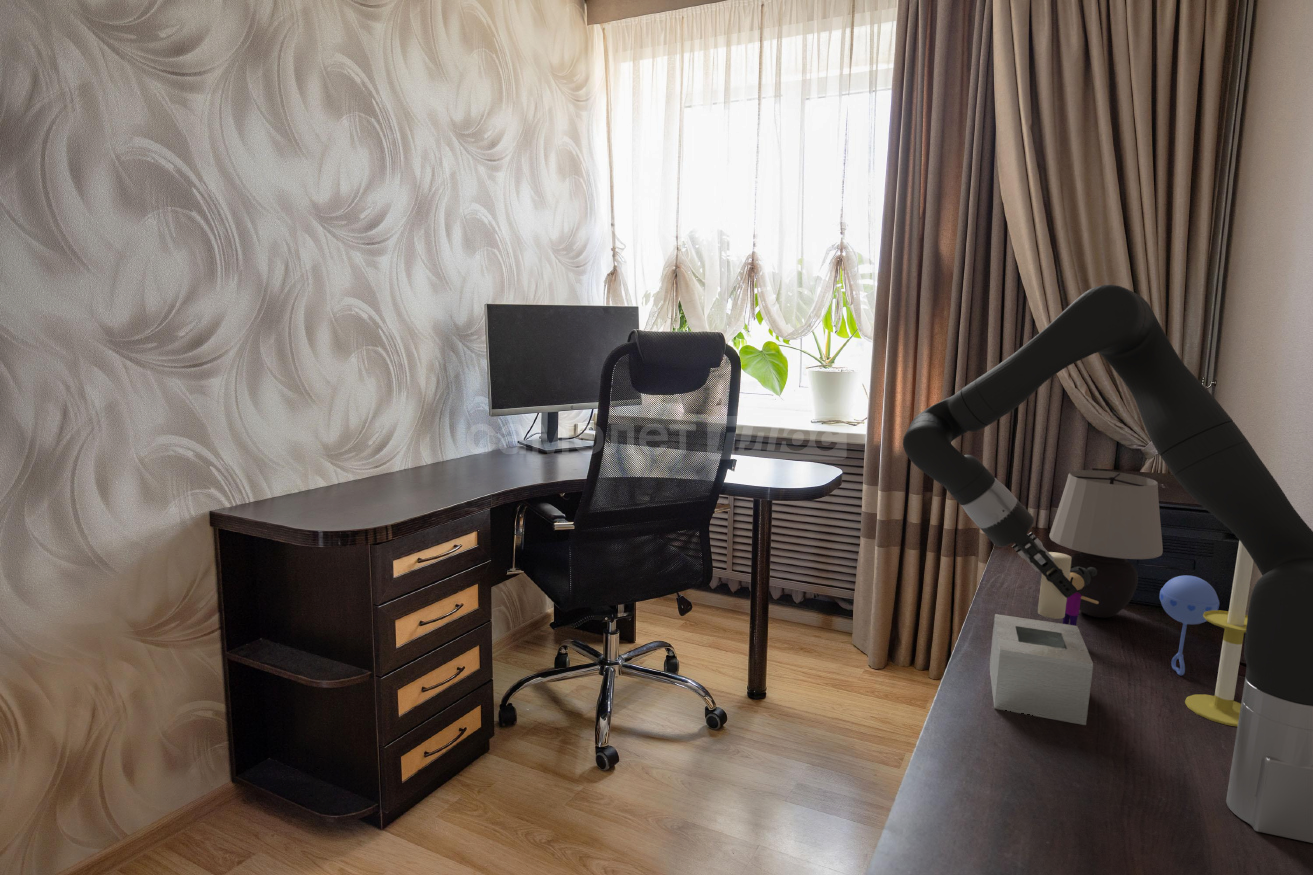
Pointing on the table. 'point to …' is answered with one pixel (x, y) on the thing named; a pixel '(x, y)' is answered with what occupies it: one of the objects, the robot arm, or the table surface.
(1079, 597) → the toy
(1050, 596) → the capsule
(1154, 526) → the table lamp
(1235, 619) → the candle
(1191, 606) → the baby rattle
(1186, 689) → the table surface
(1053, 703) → the white hollow block
